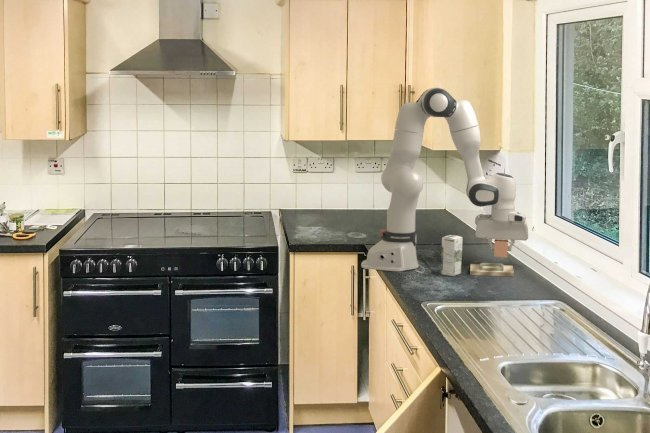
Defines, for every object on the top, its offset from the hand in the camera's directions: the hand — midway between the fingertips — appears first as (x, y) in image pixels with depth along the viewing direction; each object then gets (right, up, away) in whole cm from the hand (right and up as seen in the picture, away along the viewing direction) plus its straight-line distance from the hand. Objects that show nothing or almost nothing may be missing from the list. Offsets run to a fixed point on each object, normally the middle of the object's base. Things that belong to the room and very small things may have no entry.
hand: (500, 250), depth 342 cm
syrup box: (-21, -9, -11) cm, 25 cm away
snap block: (0, -2, 0) cm, 2 cm away
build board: (-5, -8, -8) cm, 12 cm away
